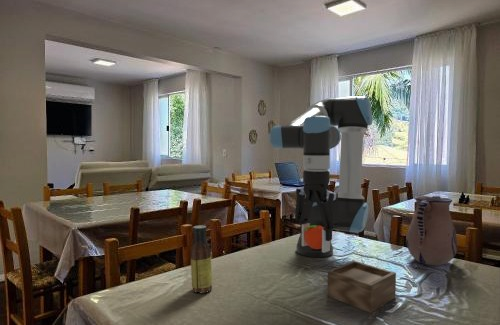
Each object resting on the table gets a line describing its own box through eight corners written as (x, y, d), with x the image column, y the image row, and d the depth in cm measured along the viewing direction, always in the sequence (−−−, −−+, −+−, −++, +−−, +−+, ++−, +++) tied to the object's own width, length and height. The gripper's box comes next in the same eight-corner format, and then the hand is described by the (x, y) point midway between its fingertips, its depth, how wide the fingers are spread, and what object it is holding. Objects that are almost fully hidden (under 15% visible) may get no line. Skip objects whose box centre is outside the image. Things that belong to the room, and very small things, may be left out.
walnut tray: (327, 295, 104) (327, 271, 103) (353, 283, 113) (353, 260, 112) (370, 312, 93) (371, 285, 93) (395, 297, 102) (395, 272, 102)
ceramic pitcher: (459, 260, 136) (461, 196, 134) (452, 277, 119) (454, 204, 117) (410, 252, 146) (412, 192, 145) (398, 266, 129) (399, 199, 128)
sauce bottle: (215, 287, 109) (215, 225, 108) (206, 295, 103) (206, 229, 102) (196, 284, 111) (196, 223, 110) (187, 292, 105) (186, 228, 104)
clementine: (305, 253, 98) (305, 228, 98) (298, 245, 105) (298, 222, 104) (332, 251, 99) (332, 227, 99) (323, 244, 106) (324, 221, 106)
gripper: (282, 168, 106) (282, 243, 107) (336, 173, 90) (335, 259, 92) (299, 167, 110) (298, 238, 112) (353, 171, 95) (352, 254, 97)
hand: (315, 248), depth 102 cm, fingers closed on clementine, 7 cm apart
